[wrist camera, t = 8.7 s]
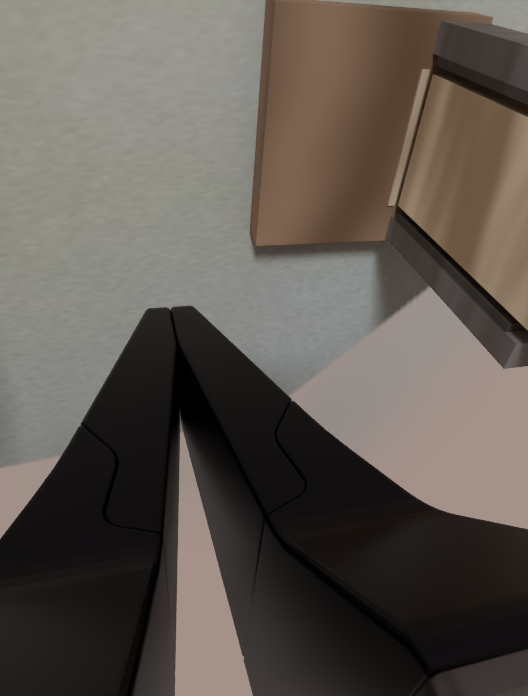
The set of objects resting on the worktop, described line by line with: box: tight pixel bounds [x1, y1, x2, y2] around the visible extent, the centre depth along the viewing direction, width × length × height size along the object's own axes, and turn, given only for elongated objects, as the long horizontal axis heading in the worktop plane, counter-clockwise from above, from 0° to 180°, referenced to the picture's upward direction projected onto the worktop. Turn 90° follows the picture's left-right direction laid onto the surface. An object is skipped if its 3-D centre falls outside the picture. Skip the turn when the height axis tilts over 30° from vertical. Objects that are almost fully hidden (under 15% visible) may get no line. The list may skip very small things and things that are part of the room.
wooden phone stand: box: [250, 0, 528, 369], centre depth 16 cm, size 8×9×10 cm
